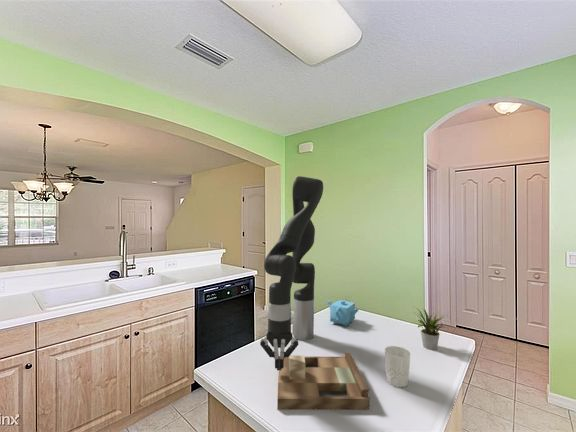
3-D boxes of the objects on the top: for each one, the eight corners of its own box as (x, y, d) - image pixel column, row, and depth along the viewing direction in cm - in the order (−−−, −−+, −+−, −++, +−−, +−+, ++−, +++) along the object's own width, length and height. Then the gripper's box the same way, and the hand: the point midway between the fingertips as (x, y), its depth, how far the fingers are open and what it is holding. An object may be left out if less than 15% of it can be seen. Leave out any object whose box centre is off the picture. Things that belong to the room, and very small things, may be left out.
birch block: (289, 379, 89) (289, 363, 89) (289, 370, 94) (289, 355, 94) (305, 379, 89) (305, 363, 89) (304, 370, 94) (304, 355, 94)
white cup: (408, 377, 96) (409, 348, 96) (411, 390, 88) (411, 359, 88) (384, 373, 98) (384, 344, 98) (384, 385, 91) (384, 354, 91)
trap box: (277, 409, 79) (277, 391, 79) (279, 364, 103) (279, 350, 103) (369, 409, 79) (369, 391, 79) (349, 364, 103) (349, 351, 103)
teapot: (353, 331, 134) (353, 307, 134) (319, 323, 144) (319, 301, 144) (363, 321, 147) (363, 299, 147) (332, 314, 157) (332, 294, 157)
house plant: (401, 344, 121) (401, 306, 121) (418, 336, 129) (419, 300, 129) (435, 357, 109) (435, 315, 109) (451, 348, 117) (452, 309, 117)
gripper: (299, 312, 95) (298, 363, 95) (260, 311, 95) (259, 363, 95) (300, 320, 88) (300, 375, 87) (258, 319, 87) (257, 375, 87)
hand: (279, 369), depth 91 cm, fingers closed
